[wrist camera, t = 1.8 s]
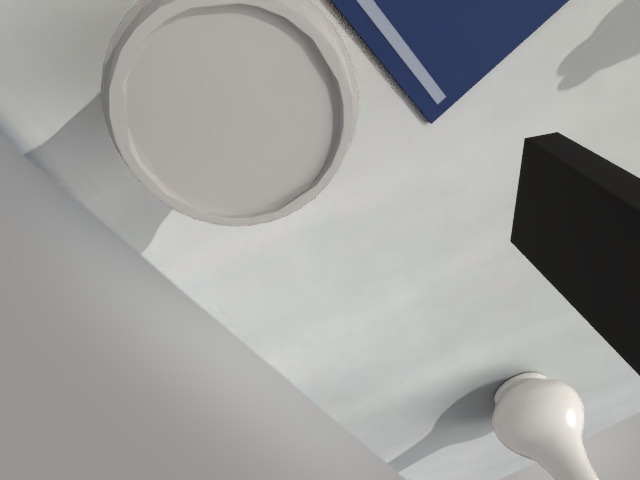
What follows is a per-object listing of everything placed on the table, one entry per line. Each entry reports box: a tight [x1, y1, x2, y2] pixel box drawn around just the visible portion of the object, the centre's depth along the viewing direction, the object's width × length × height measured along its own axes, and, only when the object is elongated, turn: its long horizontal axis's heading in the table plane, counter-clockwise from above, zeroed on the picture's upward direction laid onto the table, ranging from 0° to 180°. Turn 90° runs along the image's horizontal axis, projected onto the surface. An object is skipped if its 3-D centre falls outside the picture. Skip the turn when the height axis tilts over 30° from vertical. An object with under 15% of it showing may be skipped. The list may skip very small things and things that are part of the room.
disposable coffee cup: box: [101, 0, 358, 226], centre depth 21 cm, size 10×10×12 cm
